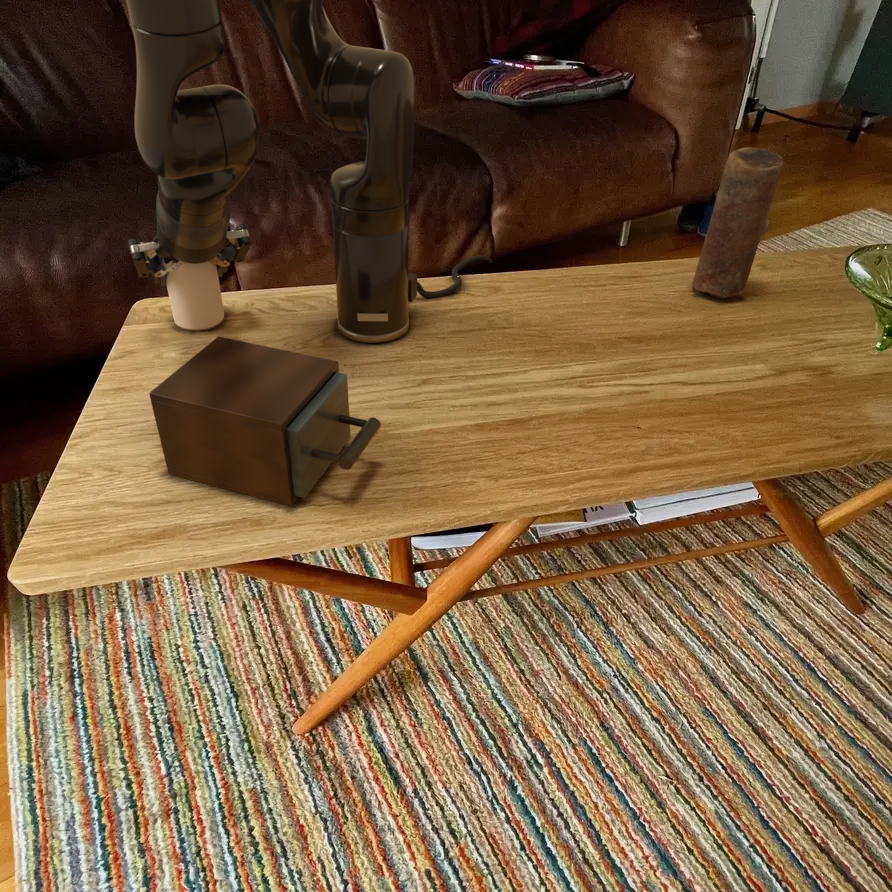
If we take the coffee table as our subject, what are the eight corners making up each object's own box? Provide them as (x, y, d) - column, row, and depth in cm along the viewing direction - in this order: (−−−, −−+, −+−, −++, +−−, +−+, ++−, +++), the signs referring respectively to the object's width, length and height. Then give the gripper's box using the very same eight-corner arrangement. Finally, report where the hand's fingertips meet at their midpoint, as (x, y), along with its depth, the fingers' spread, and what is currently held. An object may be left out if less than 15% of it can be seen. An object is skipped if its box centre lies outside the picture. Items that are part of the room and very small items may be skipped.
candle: (752, 292, 113) (793, 154, 101) (731, 308, 109) (772, 166, 97) (704, 277, 117) (738, 142, 105) (682, 292, 113) (716, 153, 100)
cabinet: (343, 438, 81) (338, 360, 75) (291, 506, 72) (281, 424, 66) (230, 412, 84) (218, 335, 78) (168, 474, 75) (148, 393, 69)
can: (205, 304, 104) (190, 219, 97) (235, 319, 101) (221, 232, 94) (164, 320, 100) (145, 233, 93) (194, 337, 97) (177, 247, 90)
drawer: (388, 446, 79) (387, 382, 74) (345, 509, 71) (341, 442, 66) (245, 412, 83) (235, 350, 78) (190, 468, 75) (175, 403, 70)
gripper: (249, 176, 86) (236, 239, 101) (114, 191, 81) (123, 255, 96) (267, 238, 85) (252, 292, 101) (133, 258, 80) (139, 311, 96)
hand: (189, 274), depth 98 cm, fingers closed on can, 6 cm apart
